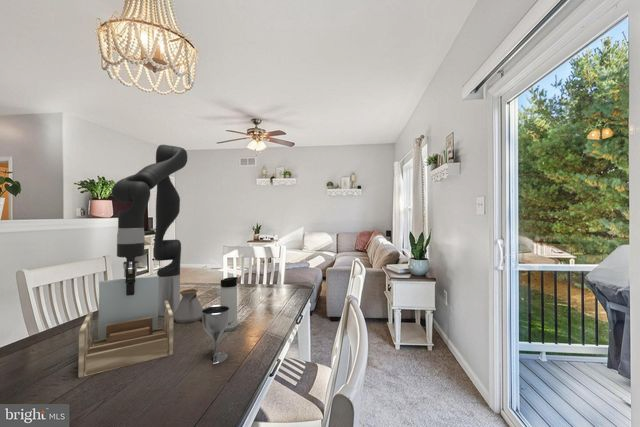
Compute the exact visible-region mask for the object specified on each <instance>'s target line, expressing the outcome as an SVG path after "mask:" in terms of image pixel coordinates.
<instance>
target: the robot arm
mask: <svg viewBox="0 0 640 427" xmlns="http://www.w3.org/2000/svg"><path fill="white" fill-rule="evenodd" d="M187 163H188V153H187V150H186V149H185V148H183V147H181V146H176V145H168V144H160V145H158V146H157V148H156V151H155V163H152V164H149V165H146V166H144V167H143V168H141V169H140V170H138V171H137V172H136V173H135V174H132V175H130V176H127V177H125V178H121V179H120V180H118V181H117V182H116V183H114V185H113V186H112V189H111V196H112V198H113V199H114V200H115V201H116V202H119V203H125V204H126V203H129V204H130V203H132V204H131V205H130V207H129V208H128V209H124V210H123V209H122V210H120V211H119V213H118V215H117V216H118V217H117V221H118V222H117V235H116V257H117V258H125V259H126V260H125V261H123V264H122V268H123V277H124V278H125V279H126V281H125V283H126V295H127V296H130V295H134V285H135V278H137V276H138V267H139V261H138V260H136V257H143V256H144V255H145V241H146V240H145V237H146V236H145V213H146V210H147V207H148V204H149V201H150V198H151V190H152V189H154V188H155V187H156V197H155V198H156V199H155V231H154V232H155V233H154V243H153V257H154V259H155V261H157V262H161V261H163V262H164V261H171V262H170V263H169V264H166V265H165V266H163V267H160V268H158V270H156V276H159V289H158V317H164V313H165V301H168V303H169V305H170V308H171V310H172V313H173V316H174V315H175V313H176V310H177V308H178V306H179V304H180V301H181V293H180V292H181V259H182V258H181V257H182V243H181V241H180V240H179V239H164V237H165V234H166V232H167V230H168V229H169V227H170V226H171V225H172V223H173V222H175V220H176V219H177V217H178V216H179V215H180V210H181V208H180V207H181V206H180V205H181V197H180V194H179V192H178V191H177V189H176V188H175V186H174V184H173V182H172V180H171V178H170V176H171V175H173V174H174V173H176V172H178V171H180V170H181V169H183V168H184V167H186V165H187ZM128 278H133V279H128Z"/></svg>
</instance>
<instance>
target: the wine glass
mask: <svg viewBox="0 0 640 427" xmlns="http://www.w3.org/2000/svg"><path fill="white" fill-rule="evenodd" d="M202 309H203V310H202V318H201V322H202V326H203V329H204V331H205V332H206V333H207V334H208V335H209V336H210V337H211V339H212V341H213V352H212V353H211V355H212V358H210V360H211V362H212V365H217V364H221V363H222V362H225V361H226V360H227V359H228V354H227V353H226V352H221V351H220V352H219V351H218V341H219V338H220V336H221V335H222V334H223V333H224V332H225V331H224V330H225V329H226V327H227V324H228V320H229V307H228V306H223V305H220V304H219V305H211V306H207V307H205V308H202Z"/></svg>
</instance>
